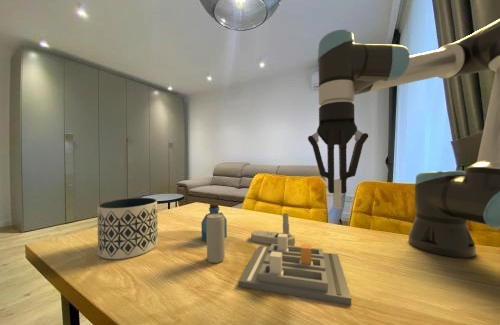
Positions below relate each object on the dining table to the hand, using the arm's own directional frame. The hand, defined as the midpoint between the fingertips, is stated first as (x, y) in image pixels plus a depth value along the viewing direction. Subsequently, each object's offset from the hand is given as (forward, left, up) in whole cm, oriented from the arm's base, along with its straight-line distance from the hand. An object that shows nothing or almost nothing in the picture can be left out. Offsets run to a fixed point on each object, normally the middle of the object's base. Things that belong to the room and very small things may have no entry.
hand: (337, 207), depth 48 cm
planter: (+60, 0, -16) cm, 62 cm away
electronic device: (+18, -17, -17) cm, 30 cm away
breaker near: (+13, +6, -15) cm, 21 cm away
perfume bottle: (+38, -14, -16) cm, 44 cm away
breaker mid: (+7, 0, -15) cm, 16 cm away
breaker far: (+13, -6, -15) cm, 21 cm away
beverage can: (+31, 0, -16) cm, 35 cm away
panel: (+10, 0, -16) cm, 19 cm away
